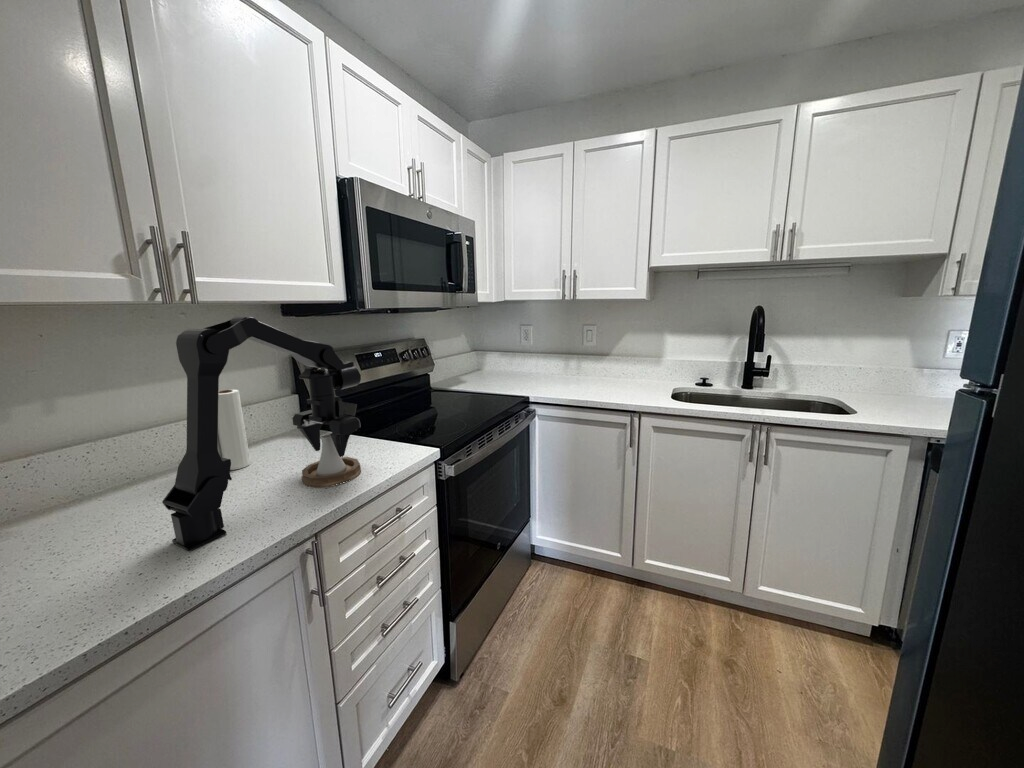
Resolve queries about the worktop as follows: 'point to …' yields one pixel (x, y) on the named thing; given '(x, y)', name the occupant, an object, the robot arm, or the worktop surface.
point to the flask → (329, 458)
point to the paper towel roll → (232, 430)
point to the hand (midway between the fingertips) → (329, 453)
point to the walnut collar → (323, 481)
